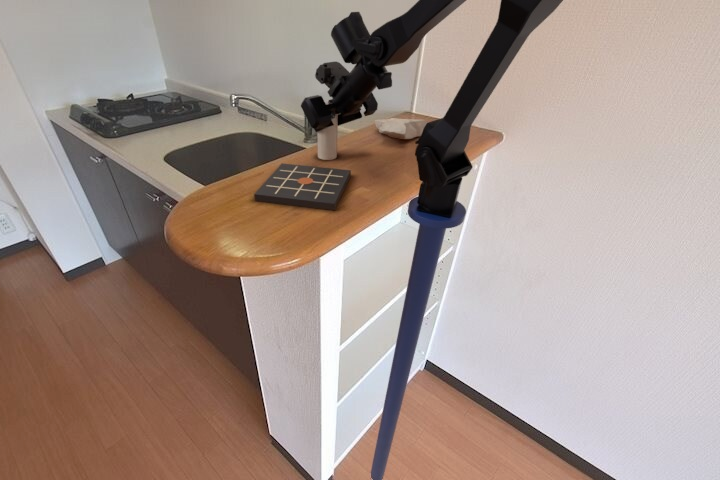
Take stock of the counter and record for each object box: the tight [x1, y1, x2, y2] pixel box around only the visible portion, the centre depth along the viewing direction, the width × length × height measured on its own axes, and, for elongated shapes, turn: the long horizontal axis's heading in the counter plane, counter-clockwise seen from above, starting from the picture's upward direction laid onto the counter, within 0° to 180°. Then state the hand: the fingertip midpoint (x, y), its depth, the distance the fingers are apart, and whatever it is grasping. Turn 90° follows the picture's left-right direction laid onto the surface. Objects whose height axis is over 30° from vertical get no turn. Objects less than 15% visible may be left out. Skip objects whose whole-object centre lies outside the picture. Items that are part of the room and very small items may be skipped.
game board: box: [253, 162, 352, 211], centre depth 73 cm, size 16×16×2 cm
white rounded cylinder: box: [316, 99, 339, 161], centre depth 84 cm, size 5×5×13 cm
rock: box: [374, 117, 429, 140], centre depth 99 cm, size 21×5×15 cm
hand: (323, 127), depth 84 cm, fingers closed on white rounded cylinder, 5 cm apart
